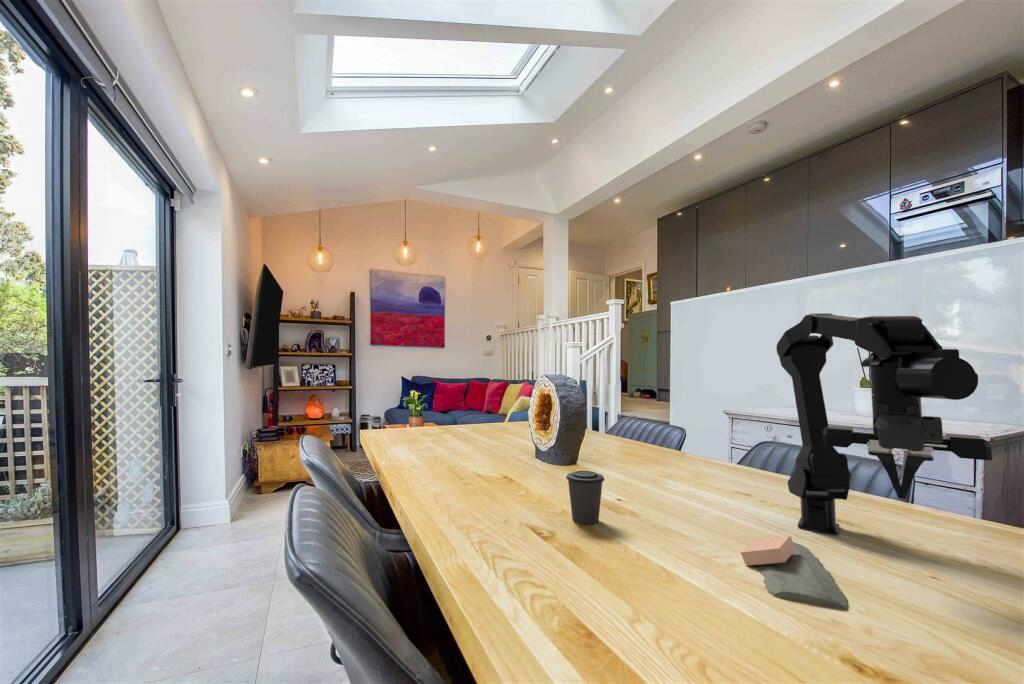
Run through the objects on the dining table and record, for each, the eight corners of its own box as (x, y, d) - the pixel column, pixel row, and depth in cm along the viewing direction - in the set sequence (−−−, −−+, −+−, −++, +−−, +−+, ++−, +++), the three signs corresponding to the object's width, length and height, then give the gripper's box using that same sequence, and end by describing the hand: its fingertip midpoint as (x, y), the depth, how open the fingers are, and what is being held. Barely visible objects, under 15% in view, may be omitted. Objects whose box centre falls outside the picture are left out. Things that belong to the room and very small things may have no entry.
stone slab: (771, 611, 59) (858, 615, 56) (767, 590, 60) (853, 593, 56) (747, 550, 80) (809, 551, 76) (744, 535, 80) (806, 535, 77)
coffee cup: (608, 528, 85) (608, 477, 86) (568, 527, 86) (567, 476, 86) (601, 514, 93) (600, 468, 94) (564, 514, 94) (563, 467, 94)
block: (785, 562, 65) (745, 565, 69) (795, 548, 70) (758, 552, 74) (779, 548, 66) (740, 552, 70) (790, 535, 71) (753, 539, 75)
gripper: (817, 395, 66) (822, 498, 65) (997, 401, 54) (1006, 527, 53) (823, 393, 75) (827, 484, 74) (979, 397, 63) (986, 505, 62)
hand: (901, 498), depth 65 cm, fingers closed
